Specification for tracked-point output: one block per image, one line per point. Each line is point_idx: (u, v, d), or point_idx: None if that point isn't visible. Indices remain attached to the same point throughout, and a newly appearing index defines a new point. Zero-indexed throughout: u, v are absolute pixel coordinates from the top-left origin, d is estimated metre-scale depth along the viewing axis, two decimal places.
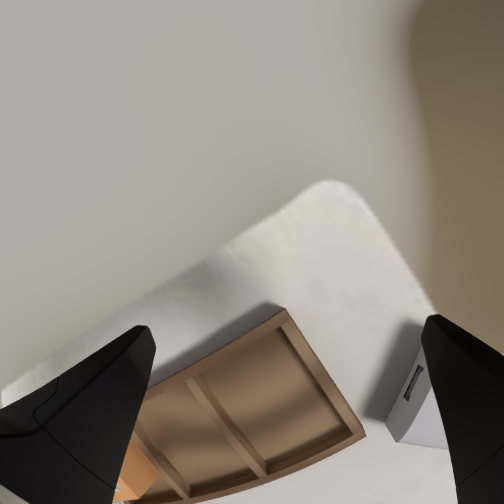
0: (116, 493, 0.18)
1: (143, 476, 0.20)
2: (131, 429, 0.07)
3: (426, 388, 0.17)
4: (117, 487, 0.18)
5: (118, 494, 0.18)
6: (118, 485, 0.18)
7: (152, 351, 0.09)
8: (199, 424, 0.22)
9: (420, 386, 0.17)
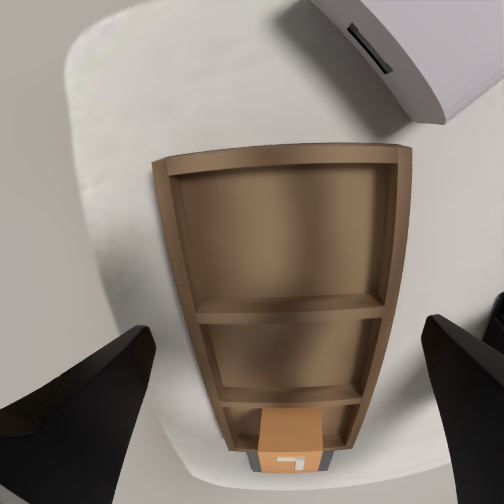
0: (307, 463, 0.19)
1: (307, 424, 0.20)
2: (131, 429, 0.07)
3: (380, 30, 0.08)
4: (299, 459, 0.18)
5: (310, 462, 0.19)
6: (296, 458, 0.18)
7: (152, 351, 0.09)
8: (272, 334, 0.19)
9: (376, 38, 0.09)
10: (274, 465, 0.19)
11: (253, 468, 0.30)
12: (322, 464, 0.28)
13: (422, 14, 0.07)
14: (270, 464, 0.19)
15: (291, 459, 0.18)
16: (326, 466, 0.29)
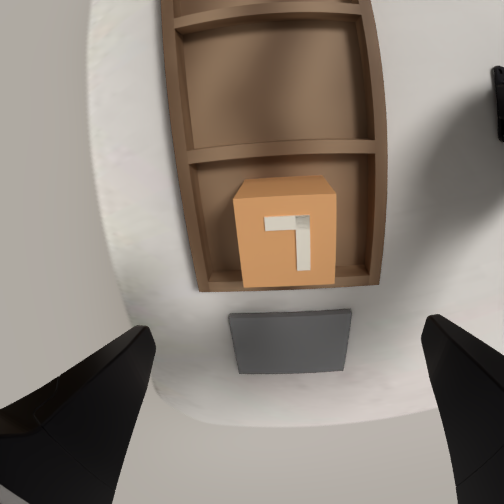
0: (316, 243, 0.15)
1: (307, 183, 0.16)
2: (132, 429, 0.07)
3: None
4: (300, 224, 0.14)
5: (320, 239, 0.14)
6: (296, 217, 0.14)
7: (152, 351, 0.09)
8: (251, 53, 0.15)
9: None
10: (262, 254, 0.15)
11: (239, 364, 0.26)
12: (337, 351, 0.24)
13: None
14: (255, 250, 0.15)
15: (288, 222, 0.14)
16: (342, 358, 0.24)
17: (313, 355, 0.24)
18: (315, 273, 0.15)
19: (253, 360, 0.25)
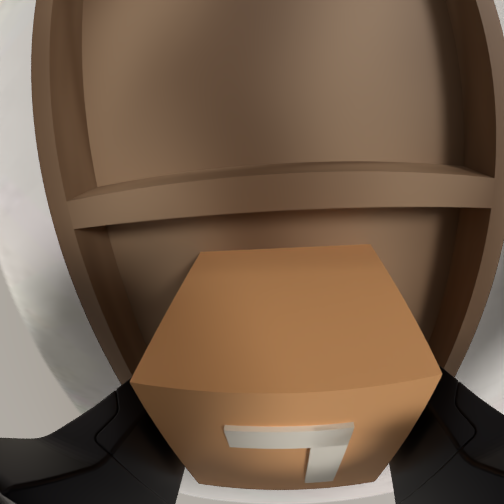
0: (355, 454, 0.05)
1: (346, 290, 0.06)
2: None
3: None
4: (326, 441, 0.04)
5: (366, 449, 0.05)
6: (316, 431, 0.04)
7: None
8: None
9: None
10: (228, 464, 0.05)
11: None
12: None
13: None
14: (212, 460, 0.05)
15: (292, 439, 0.04)
16: None
17: None
18: (341, 479, 0.05)
19: None
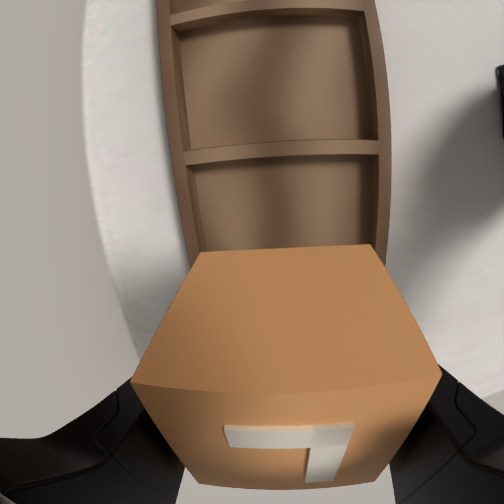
0: (355, 454, 0.05)
1: (347, 290, 0.06)
2: None
3: None
4: (325, 441, 0.04)
5: (366, 449, 0.05)
6: (316, 431, 0.04)
7: None
8: (250, 50, 0.14)
9: None
10: (228, 464, 0.05)
11: None
12: None
13: None
14: (212, 460, 0.05)
15: (292, 439, 0.04)
16: None
17: None
18: (341, 479, 0.05)
19: None
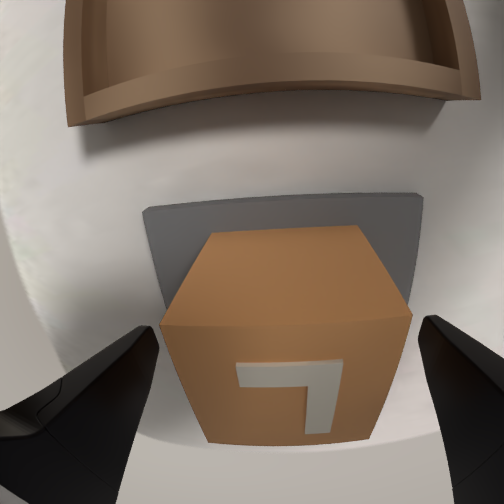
0: (348, 399, 0.06)
1: (335, 257, 0.07)
2: (135, 430, 0.07)
3: None
4: (320, 378, 0.06)
5: (357, 394, 0.06)
6: (312, 366, 0.06)
7: (155, 351, 0.09)
8: None
9: None
10: (236, 413, 0.07)
11: None
12: None
13: None
14: (223, 407, 0.07)
15: (292, 375, 0.06)
16: None
17: None
18: (338, 432, 0.07)
19: None
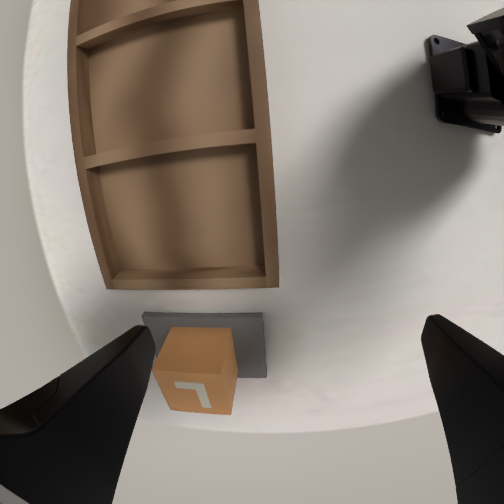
0: (212, 396, 0.19)
1: (210, 347, 0.20)
2: (132, 429, 0.07)
3: None
4: (198, 387, 0.18)
5: (214, 394, 0.19)
6: (195, 384, 0.18)
7: (152, 351, 0.09)
8: (142, 58, 0.14)
9: None
10: (177, 396, 0.19)
11: None
12: (254, 356, 0.23)
13: None
14: (173, 394, 0.19)
15: (190, 385, 0.18)
16: (262, 365, 0.24)
17: None
18: (215, 409, 0.20)
19: None
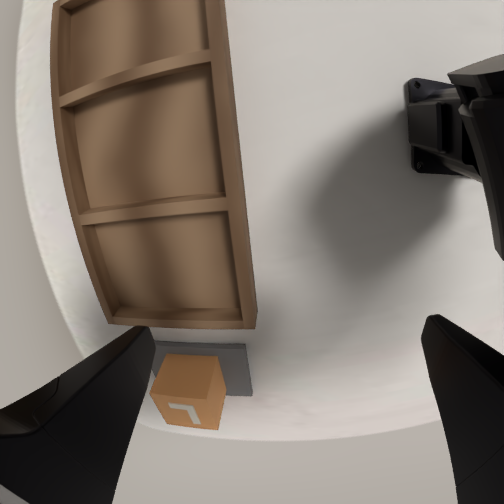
0: (200, 415, 0.21)
1: (199, 374, 0.23)
2: (131, 429, 0.07)
3: None
4: (188, 408, 0.21)
5: (202, 414, 0.21)
6: (185, 405, 0.21)
7: (152, 351, 0.09)
8: (122, 119, 0.17)
9: None
10: (172, 414, 0.22)
11: None
12: (240, 379, 0.26)
13: None
14: (168, 412, 0.22)
15: (181, 407, 0.21)
16: (247, 386, 0.26)
17: None
18: (204, 425, 0.22)
19: None
